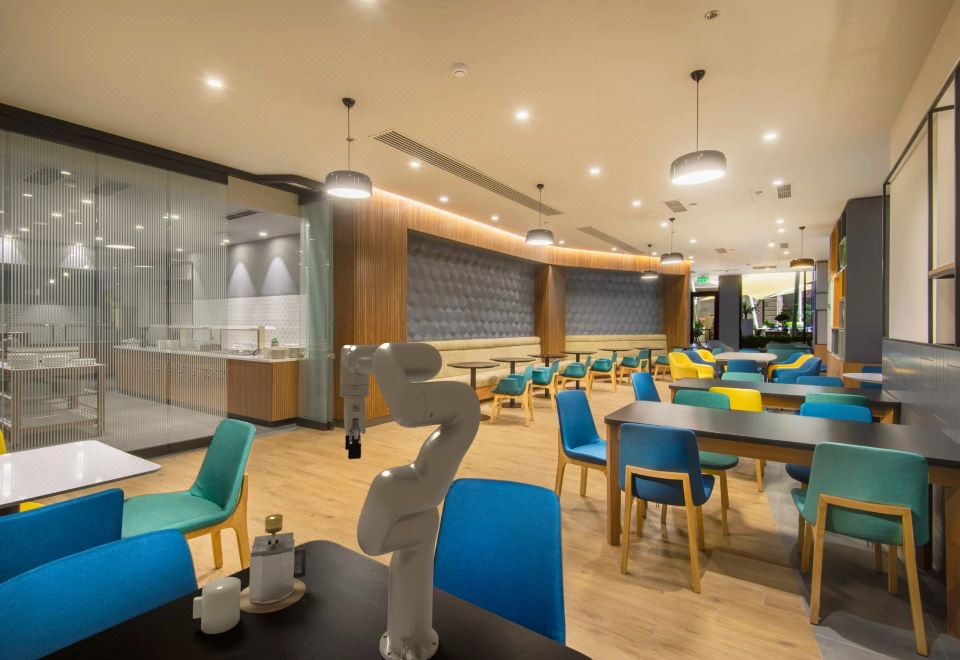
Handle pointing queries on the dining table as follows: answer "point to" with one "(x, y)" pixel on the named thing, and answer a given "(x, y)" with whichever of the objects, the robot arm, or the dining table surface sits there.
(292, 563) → the grey handled container
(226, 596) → the mug
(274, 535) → the plunger
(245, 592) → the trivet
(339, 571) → the dining table surface
